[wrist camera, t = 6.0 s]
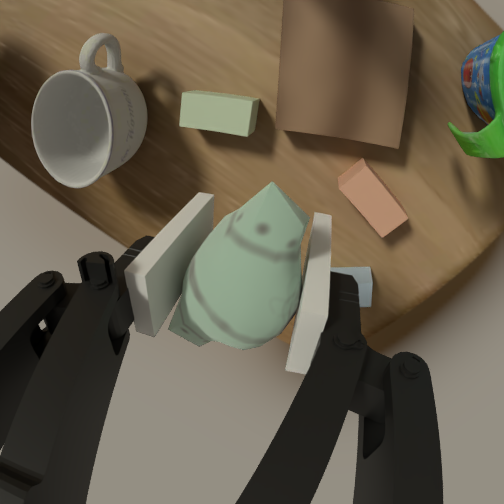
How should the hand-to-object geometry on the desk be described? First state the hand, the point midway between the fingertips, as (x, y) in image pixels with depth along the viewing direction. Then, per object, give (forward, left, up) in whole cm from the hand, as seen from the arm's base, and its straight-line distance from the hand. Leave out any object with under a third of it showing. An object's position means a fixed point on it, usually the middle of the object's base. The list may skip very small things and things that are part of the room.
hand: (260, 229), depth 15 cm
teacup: (-17, +4, -15) cm, 24 cm away
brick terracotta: (+7, -2, -15) cm, 17 cm away
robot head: (0, 0, -1) cm, 1 cm away
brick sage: (-6, +3, -15) cm, 17 cm away
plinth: (+4, +8, -15) cm, 18 cm away
